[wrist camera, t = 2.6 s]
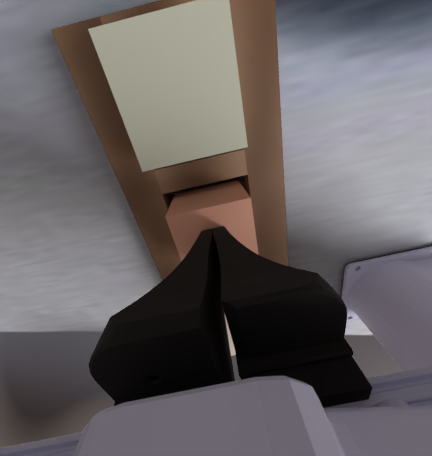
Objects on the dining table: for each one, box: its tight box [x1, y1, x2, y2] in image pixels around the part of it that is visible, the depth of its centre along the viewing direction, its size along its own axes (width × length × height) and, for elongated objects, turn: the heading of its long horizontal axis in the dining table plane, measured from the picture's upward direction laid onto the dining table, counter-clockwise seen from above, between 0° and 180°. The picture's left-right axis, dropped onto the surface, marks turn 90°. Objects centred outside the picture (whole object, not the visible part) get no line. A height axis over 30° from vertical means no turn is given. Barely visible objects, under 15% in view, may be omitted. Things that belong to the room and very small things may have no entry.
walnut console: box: [51, 0, 288, 280], centre depth 14 cm, size 10×22×2 cm, turn 12°
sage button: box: [88, 0, 248, 172], centre depth 9 cm, size 4×4×4 cm
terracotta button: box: [165, 180, 259, 261], centre depth 13 cm, size 4×4×4 cm
